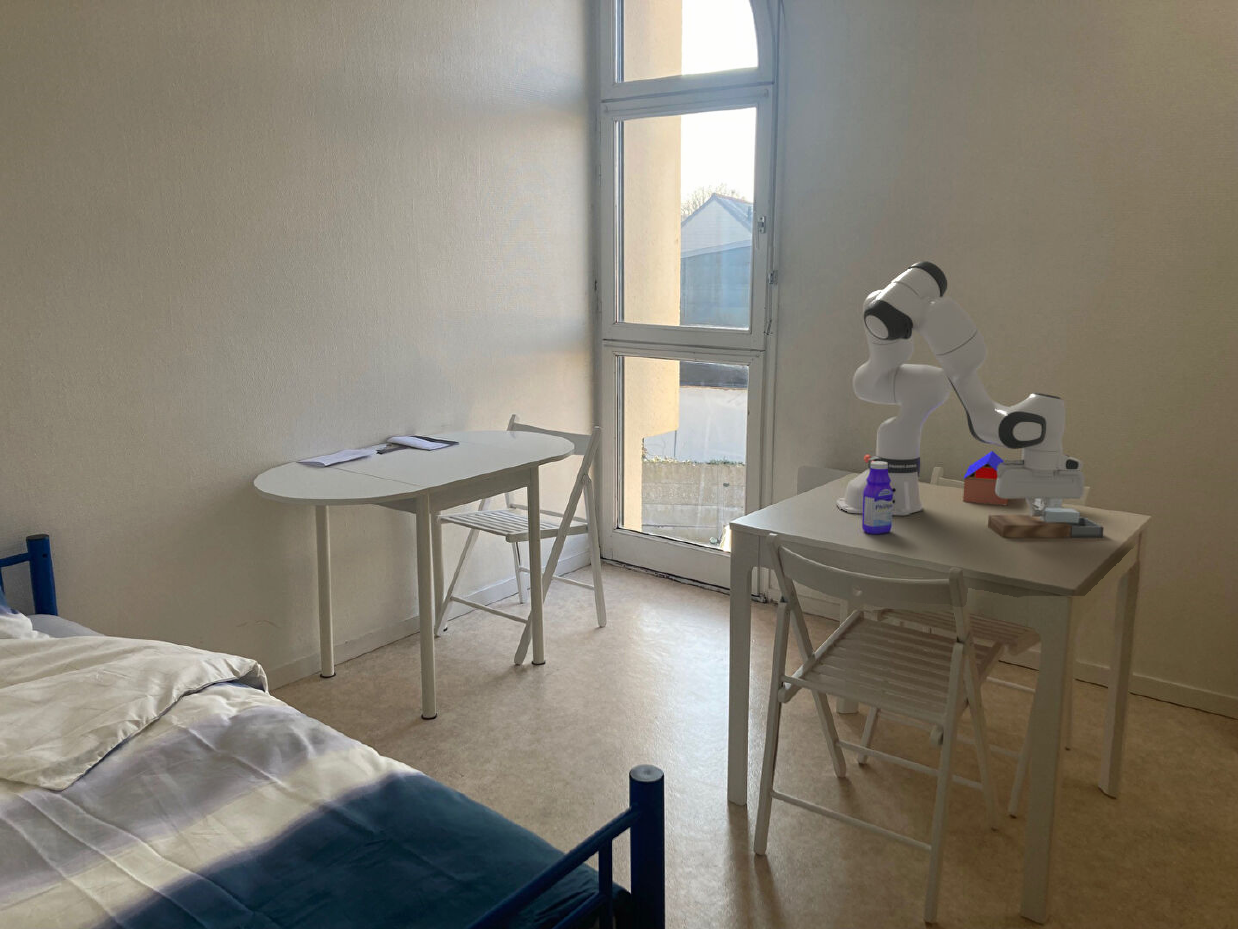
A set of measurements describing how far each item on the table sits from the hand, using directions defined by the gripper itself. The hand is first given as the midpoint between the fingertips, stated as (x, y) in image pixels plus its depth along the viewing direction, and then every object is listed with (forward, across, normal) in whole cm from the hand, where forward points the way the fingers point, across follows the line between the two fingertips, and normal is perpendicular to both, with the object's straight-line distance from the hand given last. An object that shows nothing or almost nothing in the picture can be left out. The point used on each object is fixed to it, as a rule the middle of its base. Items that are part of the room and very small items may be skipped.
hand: (1036, 516), depth 231 cm
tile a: (+1, +8, 0) cm, 8 cm away
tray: (+4, +10, 0) cm, 11 cm away
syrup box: (+4, +13, +26) cm, 29 cm away
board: (+4, -2, 0) cm, 4 cm away
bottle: (+4, -39, 0) cm, 39 cm away
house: (+4, +2, +39) cm, 40 cm away
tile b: (+1, +4, 0) cm, 4 cm away
